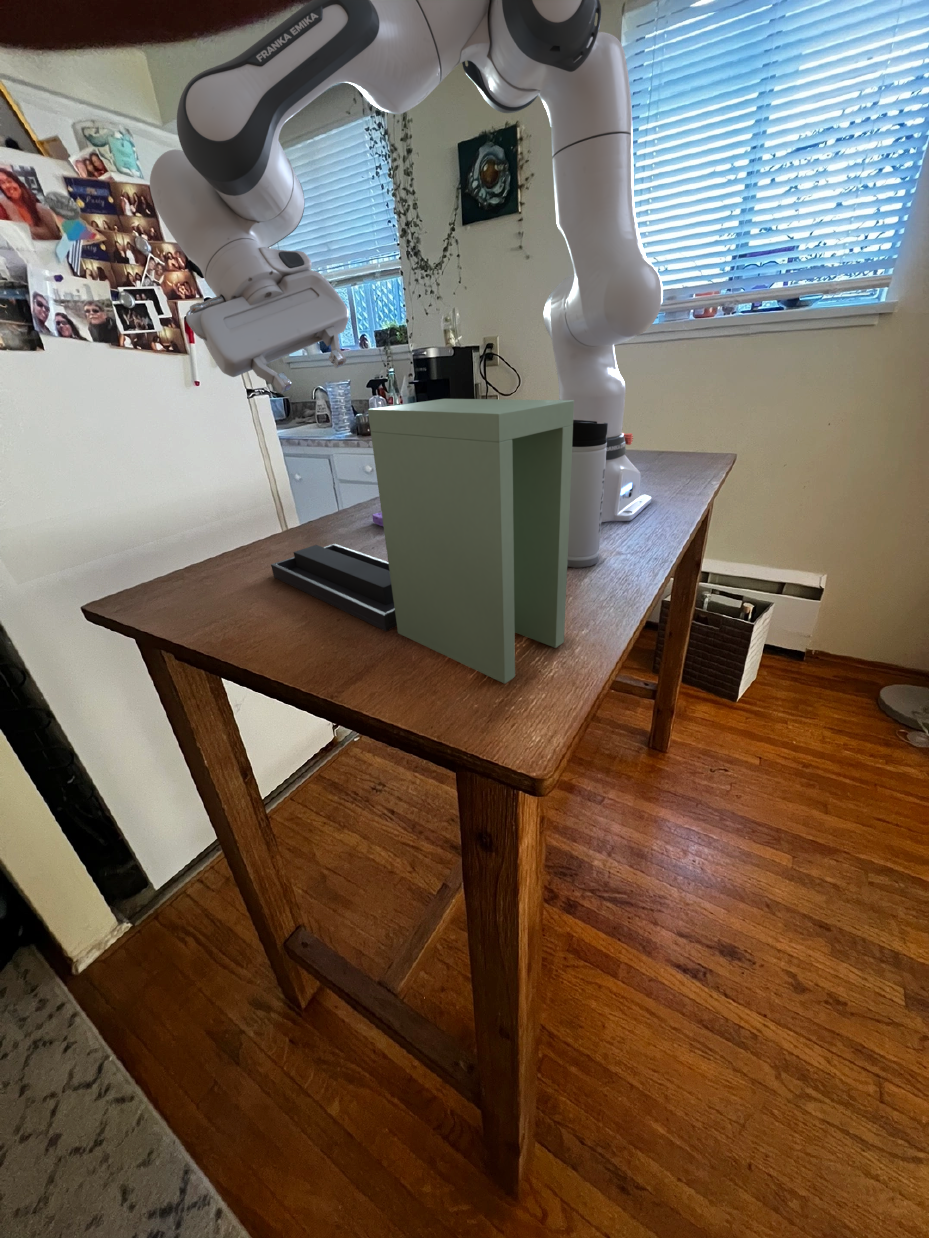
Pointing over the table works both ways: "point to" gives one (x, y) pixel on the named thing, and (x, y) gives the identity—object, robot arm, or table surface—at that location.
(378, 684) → the table surface
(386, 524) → the stool
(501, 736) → the table surface
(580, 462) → the travel mug
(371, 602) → the shallow dark gray tray
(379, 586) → the black pad
